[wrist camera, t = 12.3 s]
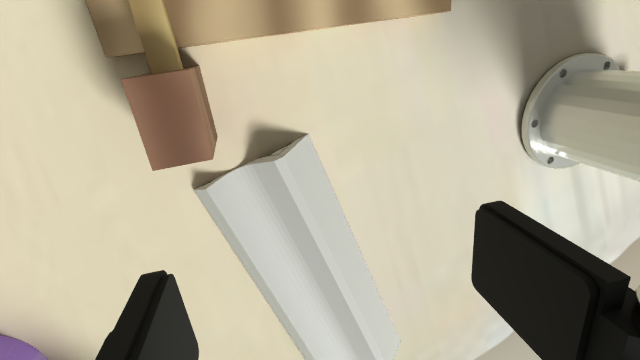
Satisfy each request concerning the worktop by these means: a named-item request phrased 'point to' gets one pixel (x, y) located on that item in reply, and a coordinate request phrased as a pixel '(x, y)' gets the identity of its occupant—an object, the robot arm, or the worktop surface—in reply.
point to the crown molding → (303, 254)
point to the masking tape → (18, 350)
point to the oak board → (246, 19)
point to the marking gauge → (168, 95)
